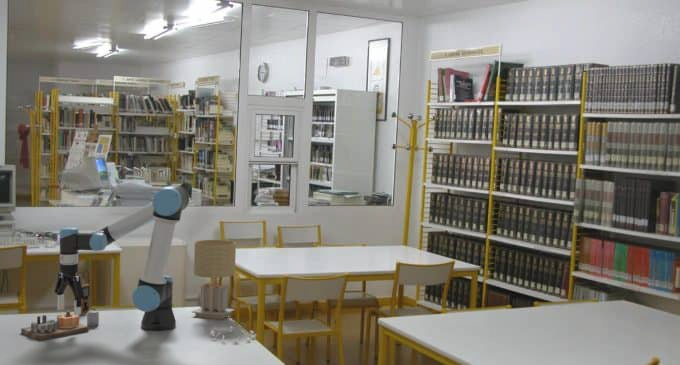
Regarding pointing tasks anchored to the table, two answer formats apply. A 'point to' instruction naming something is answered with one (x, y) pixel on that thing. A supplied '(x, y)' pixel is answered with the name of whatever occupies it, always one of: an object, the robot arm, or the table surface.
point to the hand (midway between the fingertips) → (69, 312)
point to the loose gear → (68, 320)
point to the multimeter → (85, 296)
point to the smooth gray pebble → (92, 318)
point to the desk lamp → (214, 275)
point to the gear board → (51, 329)
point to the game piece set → (233, 339)
